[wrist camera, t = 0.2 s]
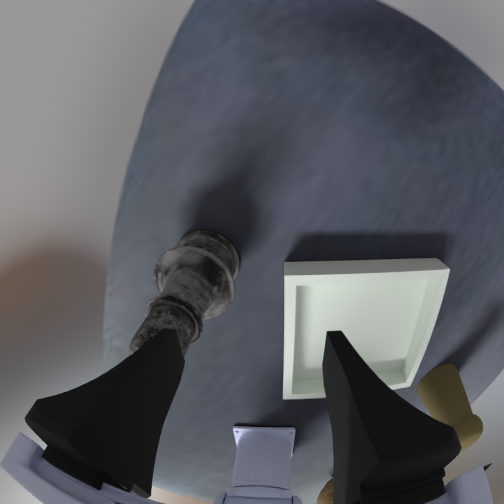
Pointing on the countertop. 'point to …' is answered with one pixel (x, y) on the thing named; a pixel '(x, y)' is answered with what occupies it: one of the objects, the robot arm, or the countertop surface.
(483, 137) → the countertop surface
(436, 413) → the cork
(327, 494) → the natural sponge
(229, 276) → the gray chess piece
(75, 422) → the robot arm
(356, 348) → the tray
